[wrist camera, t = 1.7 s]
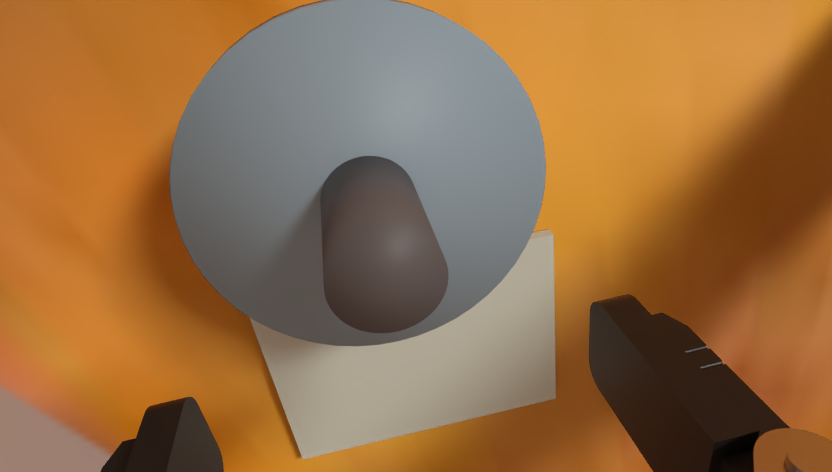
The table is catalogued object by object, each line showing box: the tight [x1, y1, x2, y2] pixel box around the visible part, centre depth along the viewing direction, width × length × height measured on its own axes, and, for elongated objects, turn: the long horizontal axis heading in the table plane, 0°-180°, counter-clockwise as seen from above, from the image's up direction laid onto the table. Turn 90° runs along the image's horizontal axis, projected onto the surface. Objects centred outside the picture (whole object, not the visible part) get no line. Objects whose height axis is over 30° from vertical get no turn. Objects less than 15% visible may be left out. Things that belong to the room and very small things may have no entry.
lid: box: [170, 0, 546, 346], centre depth 16 cm, size 12×12×6 cm
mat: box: [249, 229, 556, 459], centre depth 30 cm, size 16×12×1 cm
